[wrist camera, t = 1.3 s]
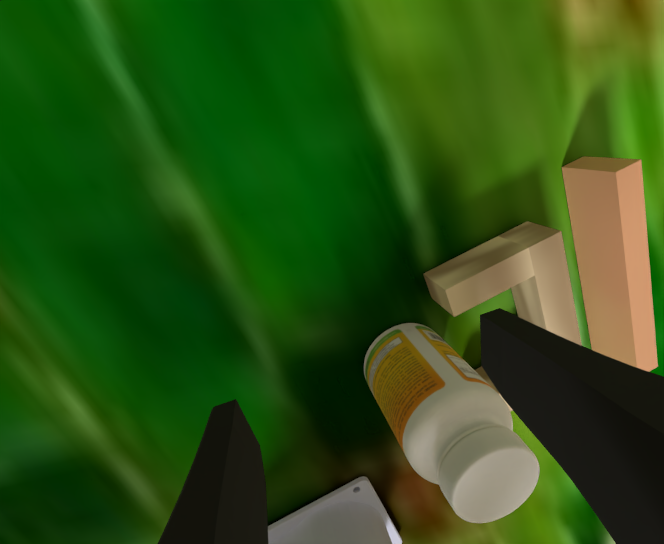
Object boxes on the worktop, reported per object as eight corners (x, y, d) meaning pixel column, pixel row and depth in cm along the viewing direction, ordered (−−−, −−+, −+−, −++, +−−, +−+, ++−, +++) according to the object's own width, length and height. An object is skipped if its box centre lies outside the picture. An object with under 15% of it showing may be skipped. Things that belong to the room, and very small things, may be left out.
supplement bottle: (362, 402, 25) (433, 552, 16) (359, 328, 23) (437, 450, 14) (440, 386, 26) (547, 518, 17) (443, 314, 24) (564, 419, 15)
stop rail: (591, 349, 28) (637, 377, 25) (561, 167, 22) (615, 172, 19) (609, 340, 28) (657, 366, 25) (583, 156, 23) (641, 159, 19)
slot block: (466, 396, 26) (489, 422, 24) (423, 273, 22) (445, 290, 20) (554, 349, 27) (586, 370, 24) (527, 221, 23) (561, 231, 20)
